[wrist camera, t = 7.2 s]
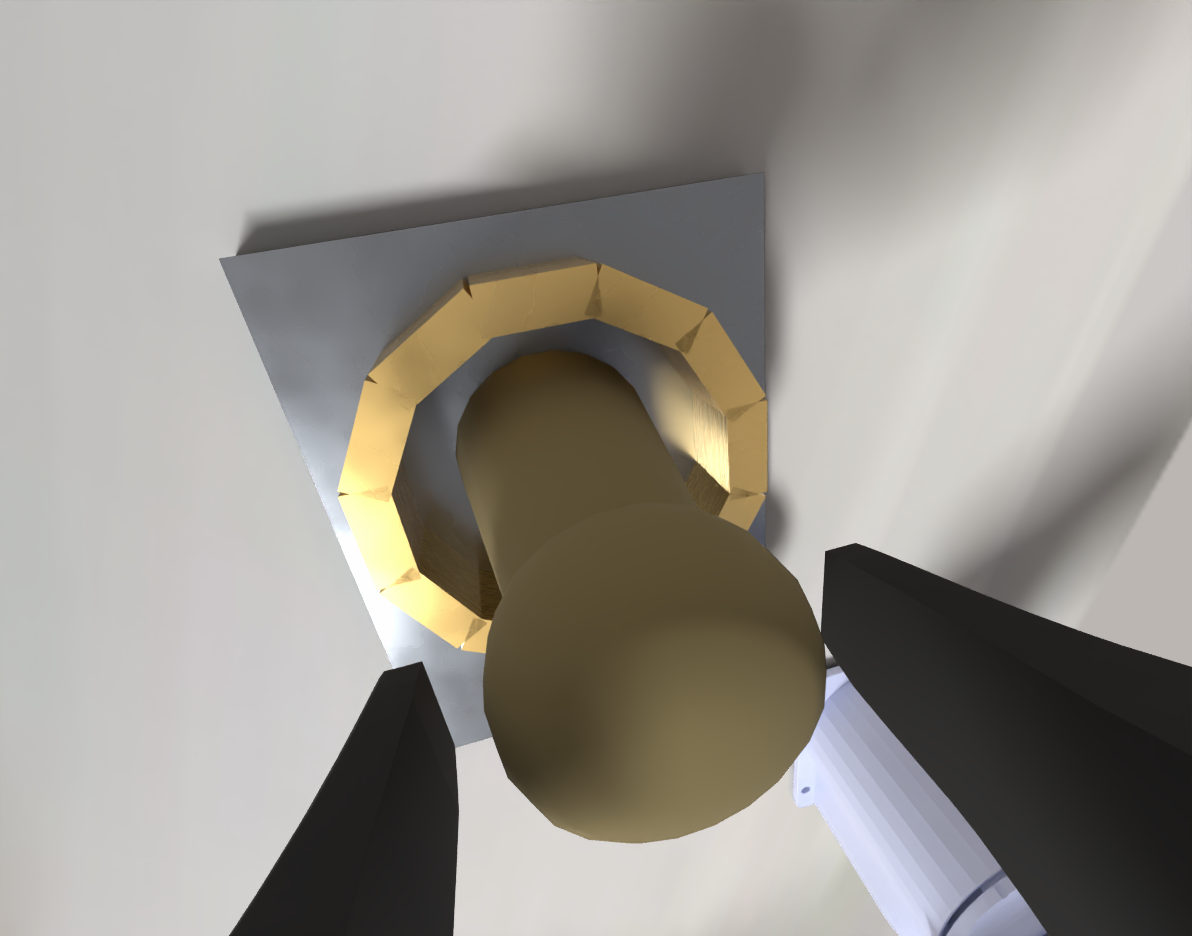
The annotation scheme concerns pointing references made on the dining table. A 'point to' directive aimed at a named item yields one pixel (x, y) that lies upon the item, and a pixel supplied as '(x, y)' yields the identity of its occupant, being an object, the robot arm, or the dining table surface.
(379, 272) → the flanged metal plate
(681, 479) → the cork
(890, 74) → the dining table surface
